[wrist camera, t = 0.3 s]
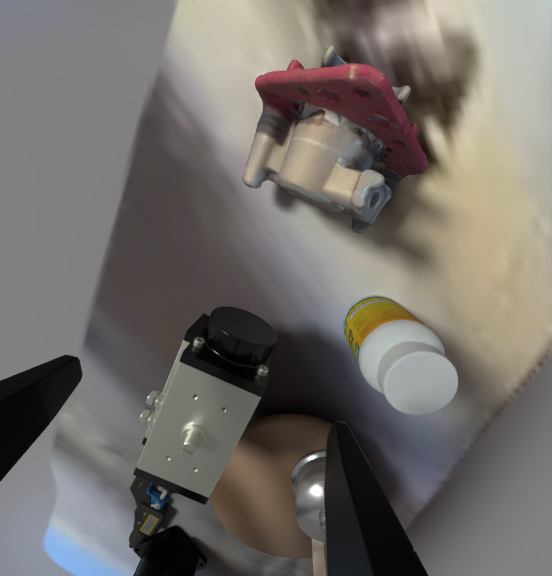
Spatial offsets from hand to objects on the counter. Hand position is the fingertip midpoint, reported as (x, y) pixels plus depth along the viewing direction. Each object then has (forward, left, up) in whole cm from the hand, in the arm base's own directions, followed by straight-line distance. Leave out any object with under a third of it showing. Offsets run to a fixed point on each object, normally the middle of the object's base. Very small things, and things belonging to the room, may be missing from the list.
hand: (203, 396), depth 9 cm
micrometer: (-25, -14, -16) cm, 33 cm away
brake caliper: (+11, +6, -16) cm, 20 cm away
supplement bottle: (+7, -8, -15) cm, 19 cm away
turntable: (-8, -18, -14) cm, 24 cm away
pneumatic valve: (-5, -3, -15) cm, 17 cm away
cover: (-4, -18, -12) cm, 22 cm away
